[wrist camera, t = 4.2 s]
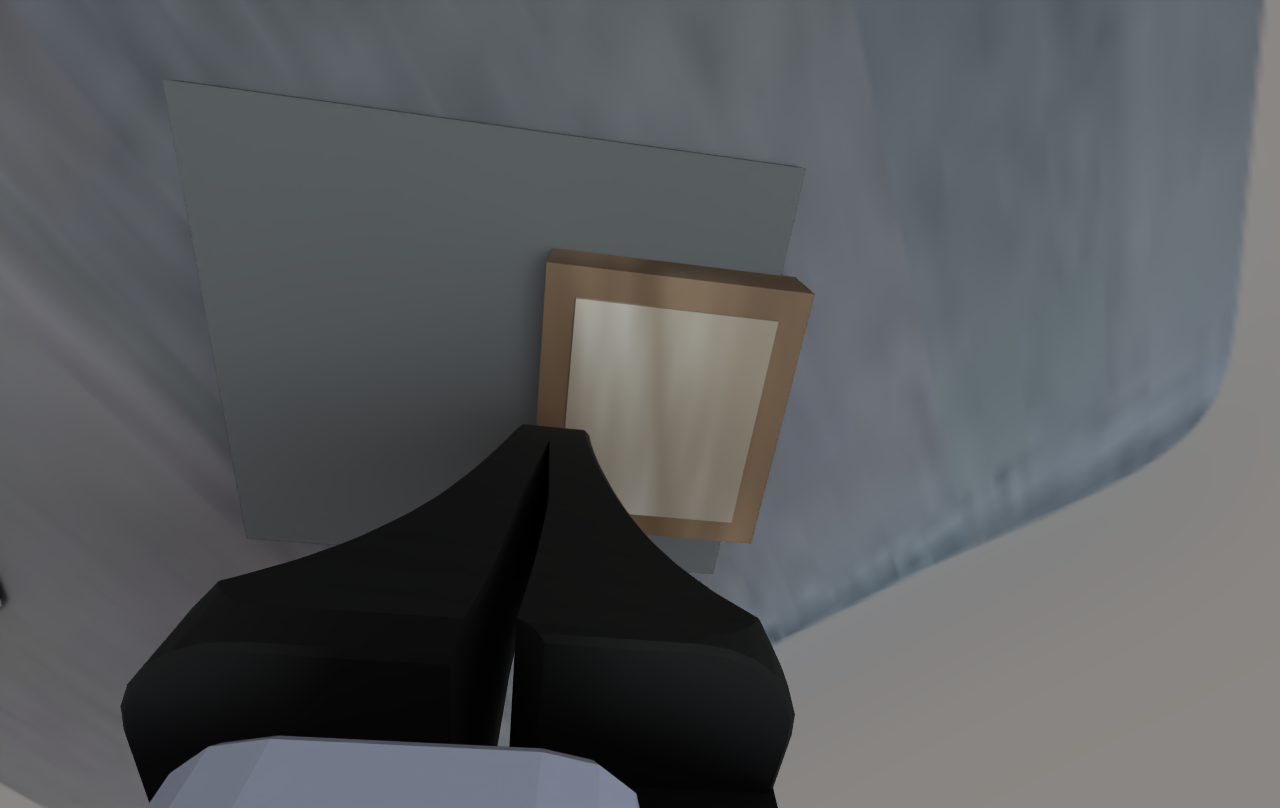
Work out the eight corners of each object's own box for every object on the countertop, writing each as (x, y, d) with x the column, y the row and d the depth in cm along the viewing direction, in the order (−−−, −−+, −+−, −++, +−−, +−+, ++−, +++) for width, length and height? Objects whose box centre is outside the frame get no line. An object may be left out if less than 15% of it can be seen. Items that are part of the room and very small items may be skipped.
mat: (257, 525, 18) (246, 538, 18) (181, 81, 13) (162, 78, 13) (710, 561, 19) (713, 573, 19) (798, 166, 14) (805, 168, 14)
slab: (529, 527, 16) (751, 546, 16) (546, 263, 13) (815, 295, 13) (537, 491, 17) (739, 509, 18) (553, 247, 14) (795, 277, 15)
